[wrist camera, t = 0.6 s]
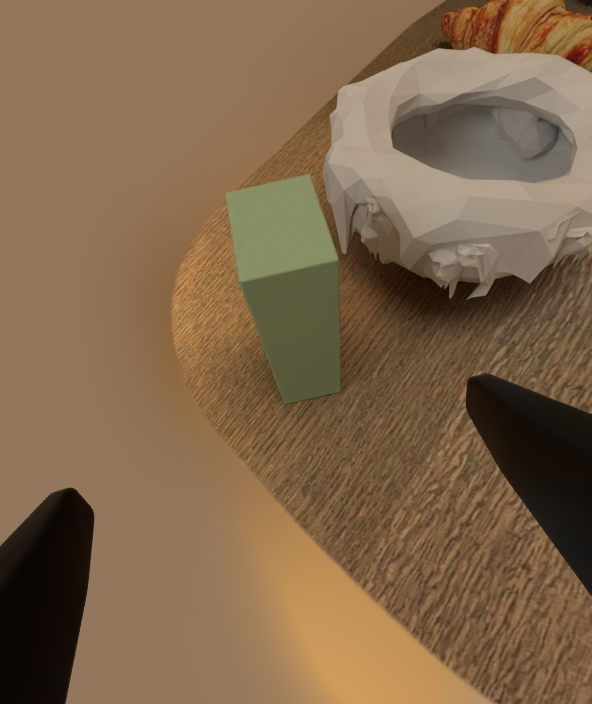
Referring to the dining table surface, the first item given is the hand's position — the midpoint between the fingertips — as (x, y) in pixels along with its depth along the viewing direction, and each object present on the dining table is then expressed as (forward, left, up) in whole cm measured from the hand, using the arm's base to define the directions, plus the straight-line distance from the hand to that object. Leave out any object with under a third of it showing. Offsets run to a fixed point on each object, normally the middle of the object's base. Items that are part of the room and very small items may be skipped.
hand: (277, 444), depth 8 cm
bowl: (+18, -18, -16) cm, 30 cm away
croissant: (+37, -37, -16) cm, 55 cm away
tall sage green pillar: (+10, -3, -16) cm, 19 cm away
